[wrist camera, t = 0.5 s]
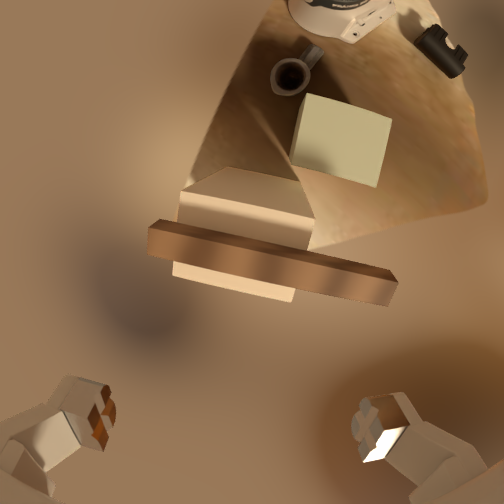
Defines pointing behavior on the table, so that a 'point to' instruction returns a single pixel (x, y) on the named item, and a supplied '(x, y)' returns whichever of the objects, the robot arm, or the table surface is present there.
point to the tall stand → (246, 221)
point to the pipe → (294, 72)
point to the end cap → (441, 51)
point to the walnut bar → (270, 262)
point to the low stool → (339, 139)
